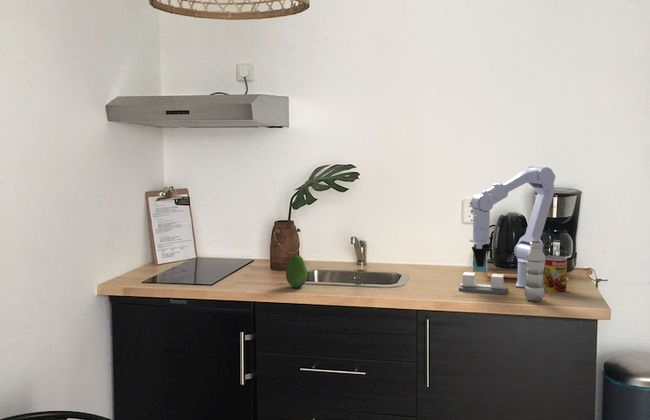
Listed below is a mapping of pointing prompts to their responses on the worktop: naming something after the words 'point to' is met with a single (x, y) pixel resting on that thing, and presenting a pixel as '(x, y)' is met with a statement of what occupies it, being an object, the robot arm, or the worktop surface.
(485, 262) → the block
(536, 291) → the plastic bottle
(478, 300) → the worktop surface
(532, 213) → the robot arm
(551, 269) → the canned food
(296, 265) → the avocado
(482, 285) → the rail board
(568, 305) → the worktop surface
